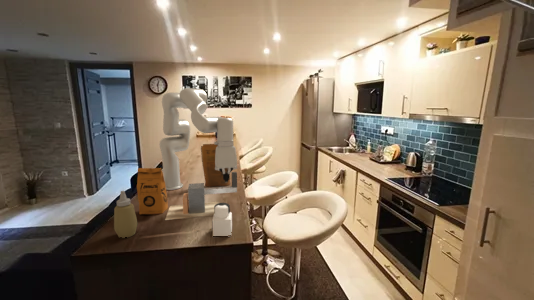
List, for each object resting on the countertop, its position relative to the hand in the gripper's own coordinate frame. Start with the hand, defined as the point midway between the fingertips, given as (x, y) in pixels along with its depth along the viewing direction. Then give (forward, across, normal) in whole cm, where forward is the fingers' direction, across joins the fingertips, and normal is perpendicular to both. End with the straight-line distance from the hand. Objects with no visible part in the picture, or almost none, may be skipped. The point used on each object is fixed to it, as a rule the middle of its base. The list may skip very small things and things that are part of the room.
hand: (226, 181), depth 120 cm
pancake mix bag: (+15, -3, +38) cm, 41 cm away
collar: (+13, -19, 0) cm, 24 cm away
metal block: (+13, -14, 0) cm, 20 cm away
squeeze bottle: (+15, -41, -16) cm, 46 cm away
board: (+14, -16, 0) cm, 21 cm away
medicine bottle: (+15, -4, -23) cm, 27 cm away
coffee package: (+15, -34, +4) cm, 37 cm away
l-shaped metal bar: (+6, -5, 0) cm, 8 cm away
